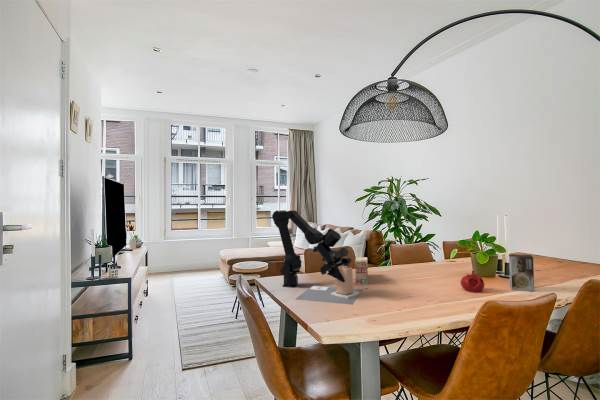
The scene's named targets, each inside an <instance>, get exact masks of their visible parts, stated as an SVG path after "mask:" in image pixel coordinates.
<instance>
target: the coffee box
mask: <svg viewBox="0 0 600 400" xmlns="http://www.w3.org/2000/svg"><path fill="white" fill-rule="evenodd" d="M508 267H509V272H508V273H509V287H510V289H511V290H513V291H520V292H521V291H524V292H535V273H534V271H535V270H534V269H535V268H534V267H535V266H534V257H533V256H532V254H514V253H509V254H508Z"/></svg>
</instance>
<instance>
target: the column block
mask: <svg viewBox="0 0 600 400" xmlns="http://www.w3.org/2000/svg"><path fill="white" fill-rule="evenodd" d="M338 270H339V272H340V273H341V275H342V276H343V278H344V280H345V281H344V282H342V281H340V280H338V279H336V287H337V293H341V294H346V295H347V294H349V293H352V292H353V284H354V283H353V281H354V280H353V267H350V266H348V267H347V266H342V267H339V268H338Z"/></svg>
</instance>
